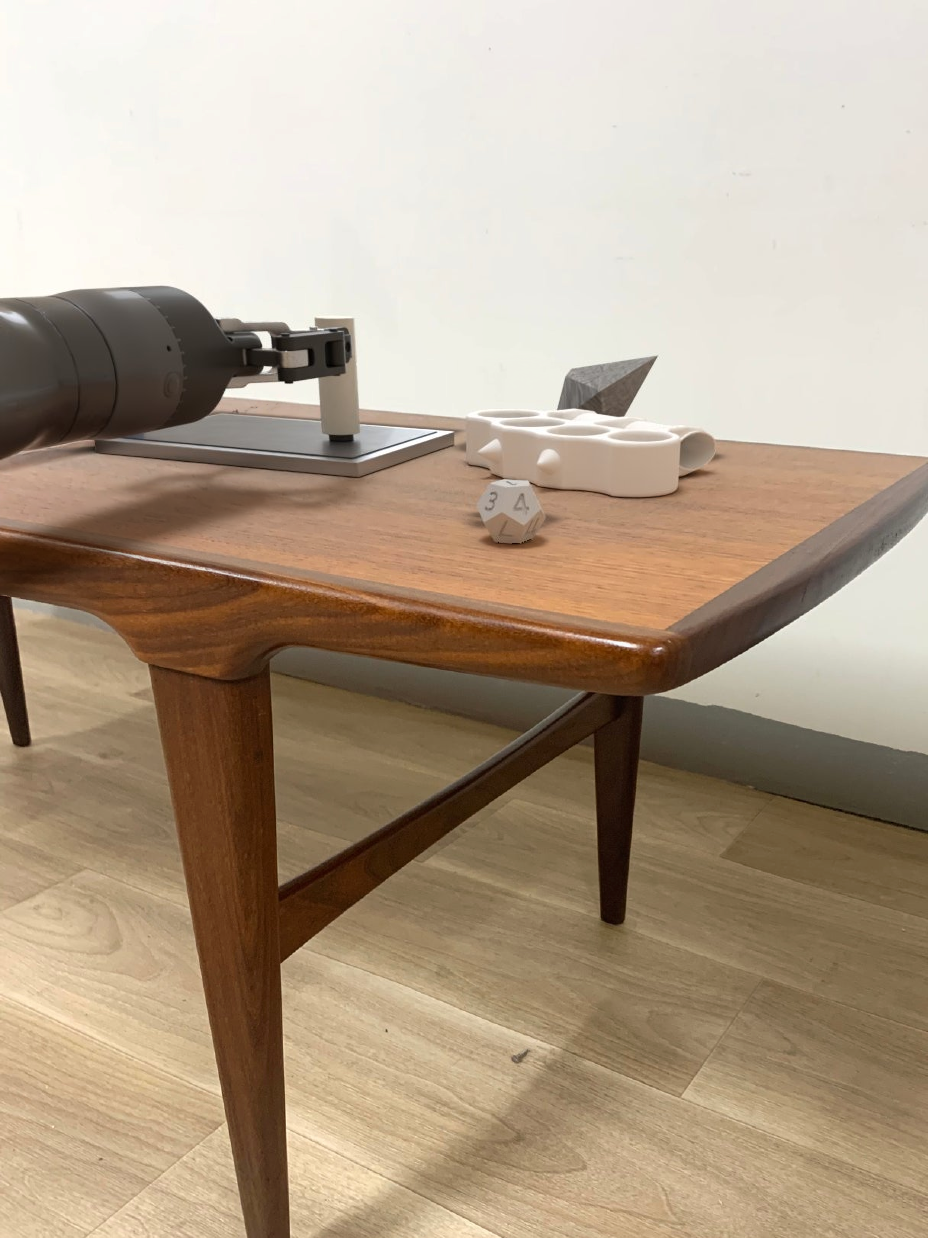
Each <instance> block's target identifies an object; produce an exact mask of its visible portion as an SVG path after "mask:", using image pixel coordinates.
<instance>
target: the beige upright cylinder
mask: <svg viewBox="0 0 928 1238" xmlns="http://www.w3.org/2000/svg"><path fill="white" fill-rule="evenodd" d="M314 327H318V329H322V328H331V327H346V328H347V329H348V331H349V334H351V336H352V356H353V357H352V358H350V361H349V362H348V363H346V373H345V374H340V376H327V377H321V378H317V379H318V396H319V397H318V398H319V411H320V421H321V429H322V433H324V434H328V435H329V440H332V441H350V440H353V439H354V434H358V433H360V424H361V418H360V402H359V401H360V400H359V381H358V379H359V378H358V362H357V361H358V359H357V341H356V340H357V339H356V338H357V337H356V321H355V316H350V315H349V316H348V315H319V316H318V315H317V316H314Z"/></svg>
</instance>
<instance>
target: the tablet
mask: <svg viewBox="0 0 928 1238" xmlns="http://www.w3.org/2000/svg"><path fill="white" fill-rule="evenodd" d="M93 442H94V449H95V453H99V454H106V455H107V454H108V455H120V456H127V457H128V456H130V457H139V458H149V459H161V460H171V461H182V462H191V463H193V462H194V463H202V464H214V465H225V466H234V467H246V468H256V469H266V470H267V469H268V470H277V471H278V470H279V471H288V472H297V473H307V474H308V473H309V474H321V475H329V476H338V477H339V476H340V477H348V478H349V477H351V478H360V477H363V476H367V475H368V474H369V475H370V474H373V473H375V472H379V471H382V470H384V469H387V468H390V467H392V466H395V465H399V464H401V463H405V462H407V461H410V460H413V459H416V458H419V457H422V456H425V455H428V454H431V453H433V452H436V451H440V450H442V449H445V448H448V447H451V446H454V445H455V431H450V430H438V429H437V430H436V429H424V428H412V427H411V428H410V427H399V426H388V425H387V426H385V425H373V424H361V423H360V433H358V434H354V439H353V440H350V441H332V440H329V435H328V434H324V433H322V429H321V420H311V419H309V420H308V419H297V418H296V419H295V418H284V417H270V416H259V415H257V416H256V415H245V414H244V415H243V414H232V413H231V414H230V413H220V412H219V413H213V414H209V415H207V416H206V417H204V418H203V419H201V420H199V421H196V422H193V423H189V424H185V425H180V426H175V427H170V428H165V429H161V430H156V431H151V432H146V433H141V434H136V435H132V436H127V437H122V438H117V439H109V440H93Z"/></svg>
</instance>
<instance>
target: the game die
mask: <svg viewBox="0 0 928 1238" xmlns="http://www.w3.org/2000/svg"><path fill="white" fill-rule="evenodd" d="M476 508H477V510H478V512H479V515H480V517H481V520H482V522H483V524H484V525H485V528H486V530H487V531H488V533H489V535H490V537H491V538H492V540H493V542H494V543H498V542H499V543H500V544H512V543H520V544H523V543H525V542H524V541H526V542H528V541H527V540H529V539H531V540H533V539H535V536H536V534H537V533H538V532H539V530H540V528H541V527H542V525H543V524H544V522H545V520H546V519H547V517H546V515H545V513H544V510H543V508H542V506H541V504H540V501H539V499H538V497H537V496H536V493H535V491H534V489H533V487H532V485H531V482H529V481H525V480H515V479H505V478H502V479H500V480H496V481H493V482H489V484H488V485H487V486H486V488H485V490H484V492H483V493H482V495H481V497H480V498H479V500H478V502H477V503H476ZM529 541H530V540H529ZM522 542H523V543H522ZM499 543H498V544H499Z"/></svg>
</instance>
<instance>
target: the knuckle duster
mask: <svg viewBox="0 0 928 1238" xmlns="http://www.w3.org/2000/svg"><path fill="white" fill-rule="evenodd" d="M465 444H466V445H465V447H466V450H465V452H466V454H465V455H466V457H465V458H466V462H467V464H469V466H475V467H476V466H477V467H481V468H486V469H489V471H490V473H491V474H492V475H494V476H497V477H500V478H502V479H509V480H525V481H529V483H530V484H531V483H532V484H534V485H536V486H537V487H543V488H549V489H557V490H570V491H571V490H572V491H573V490H574V491H587V492H595V493H601V494H605V495H608V496H611V497H619V498H650V497H660V496H666V495H670V494H672V493H674V492H676V490H677V489H678V488H679V477H683V476H686V475H688V474H690V473H693V472H695V471H698V470H699V469H702V468H703V467H705V466H706V465H707V464H709V463H710V462H711V461H712V460H713V458H714V456H715V454H716V452H717V441H716V439H715V437H714V436H713V435H711V434H710V433H708V432H707V431H705V430H704V429H703V428H702V427H698V426H691V425H683V424H677V425H668V424H661V423H656V422H650V421H648V420H647V419H645V418H639V417H631V416H626V415H625V416H624V417H614V416H607V415H601V414H597V413H595V412H594V411H588V410H581V409H566V410H557V409H556V410H534V409H524V408H523V409H522V408H521V409H519V408H496V409H495V408H493V409H482V410H475V411H471V412H469V413H467V414H466V416H465Z"/></svg>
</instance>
